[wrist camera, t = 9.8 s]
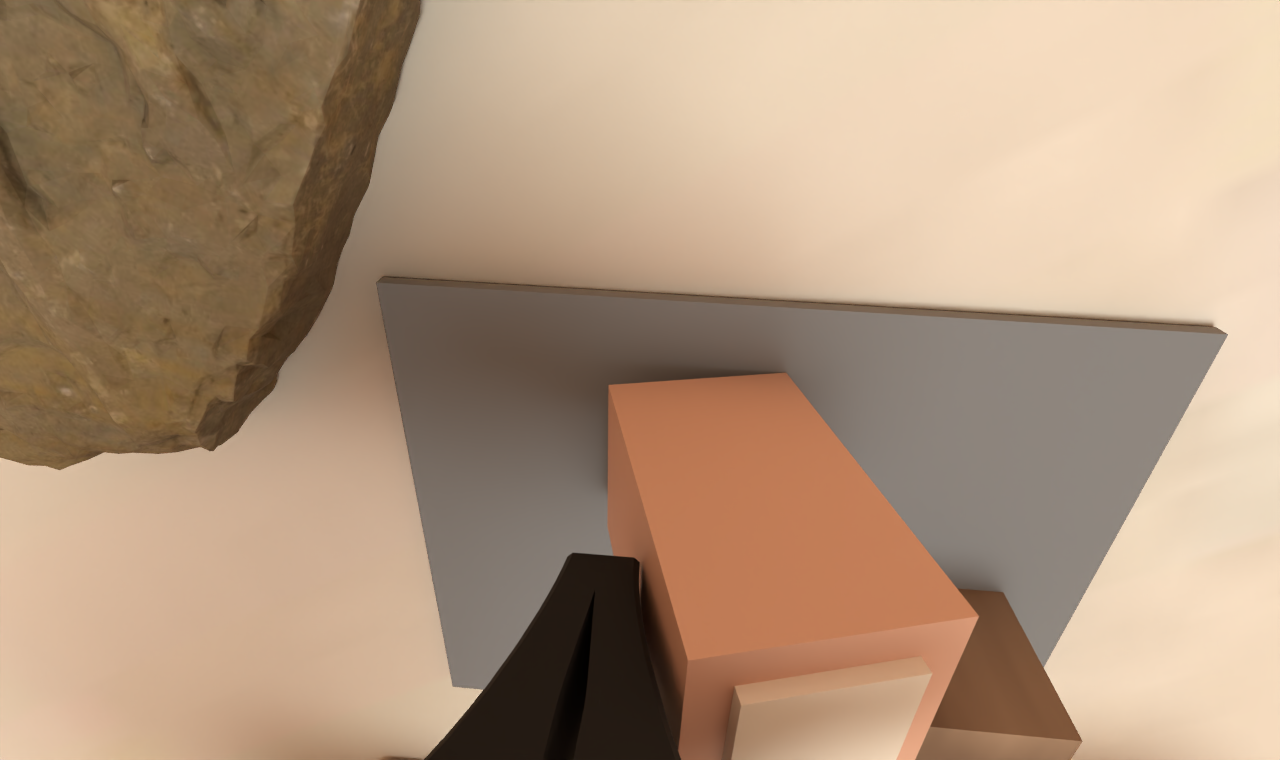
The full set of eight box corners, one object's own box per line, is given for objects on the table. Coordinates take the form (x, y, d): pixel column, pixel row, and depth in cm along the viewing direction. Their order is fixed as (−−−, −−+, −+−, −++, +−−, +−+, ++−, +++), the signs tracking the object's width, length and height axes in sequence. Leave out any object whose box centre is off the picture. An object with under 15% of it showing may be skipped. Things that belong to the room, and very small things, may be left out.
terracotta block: (763, 509, 18) (914, 797, 11) (607, 526, 17) (673, 847, 11) (785, 372, 16) (992, 633, 9) (608, 384, 15) (694, 680, 8)
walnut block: (736, 664, 22) (969, 686, 21) (744, 807, 18) (1030, 837, 17) (751, 571, 19) (1013, 593, 19) (765, 710, 15) (1095, 742, 15)
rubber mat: (998, 728, 23) (1003, 739, 22) (456, 676, 24) (452, 686, 23) (1215, 327, 15) (1227, 334, 14) (383, 276, 16) (376, 282, 15)
